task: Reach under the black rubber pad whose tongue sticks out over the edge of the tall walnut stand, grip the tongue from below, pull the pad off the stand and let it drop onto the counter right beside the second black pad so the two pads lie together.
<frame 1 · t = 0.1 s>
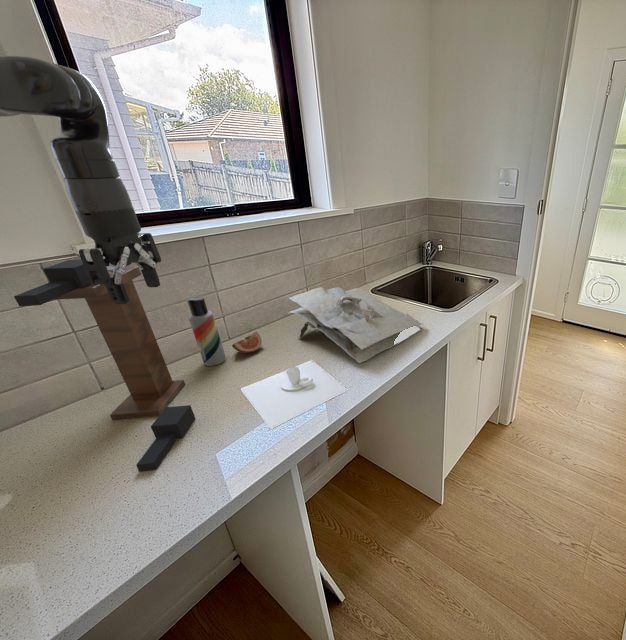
hand: (139, 294, 64), 30 cm above the countertop, tool pointing down, fingers open, 8 cm apart
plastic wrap: (359, 332, 115), on the countertop
fruit slice: (248, 351, 104), on the countertop
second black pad: (172, 436, 72), on the countertop
walnut stand: (149, 403, 81), on the countertop
lotion bottle: (215, 361, 99), on the countertop
teacup and saucer: (294, 390, 87), on the countertop
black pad: (72, 287, 63), point 32 cm above the countertop, touching walnut stand
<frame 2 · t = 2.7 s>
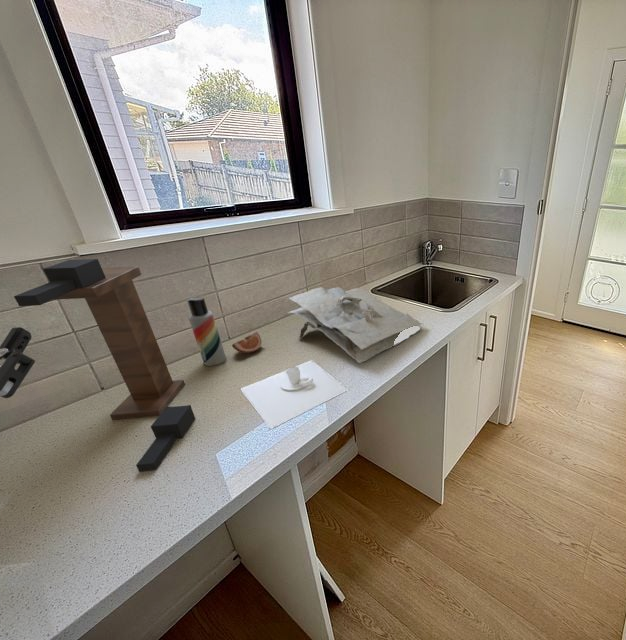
nothing on the countertop moved.
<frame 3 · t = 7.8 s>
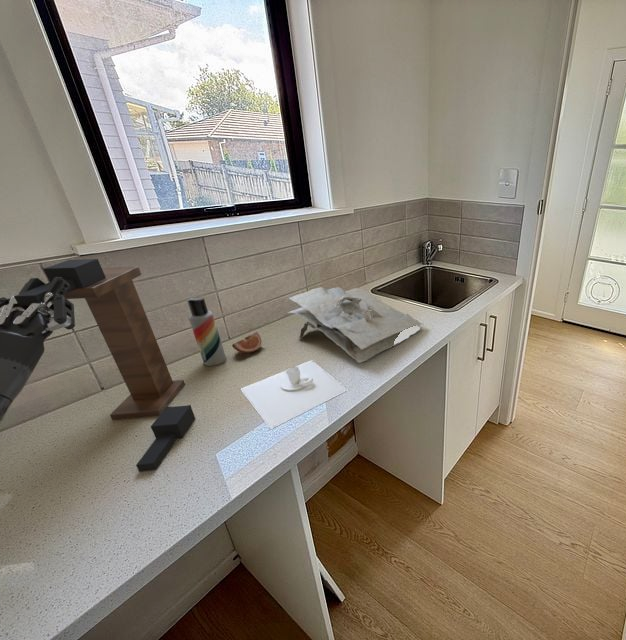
hand: (50, 280, 59), 34 cm above the countertop, tool pointing upward, fingers closed on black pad, 3 cm apart
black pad: (72, 287, 63), point 32 cm above the countertop, touching gripper, walnut stand
everything else where it was.
when the fingers open (22 cm above the countertop, at t = 15.4 s): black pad drops 20 cm, on the countertop.
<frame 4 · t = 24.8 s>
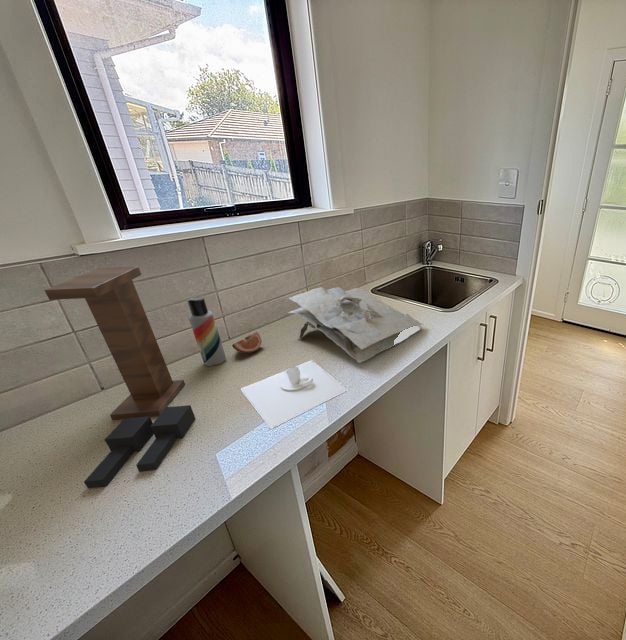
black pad: (129, 449, 69), on the countertop
everything else where it was.
at the end: the gripper is holding nothing; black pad on the countertop; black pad 7.4 cm from the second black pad (horizontally) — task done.
